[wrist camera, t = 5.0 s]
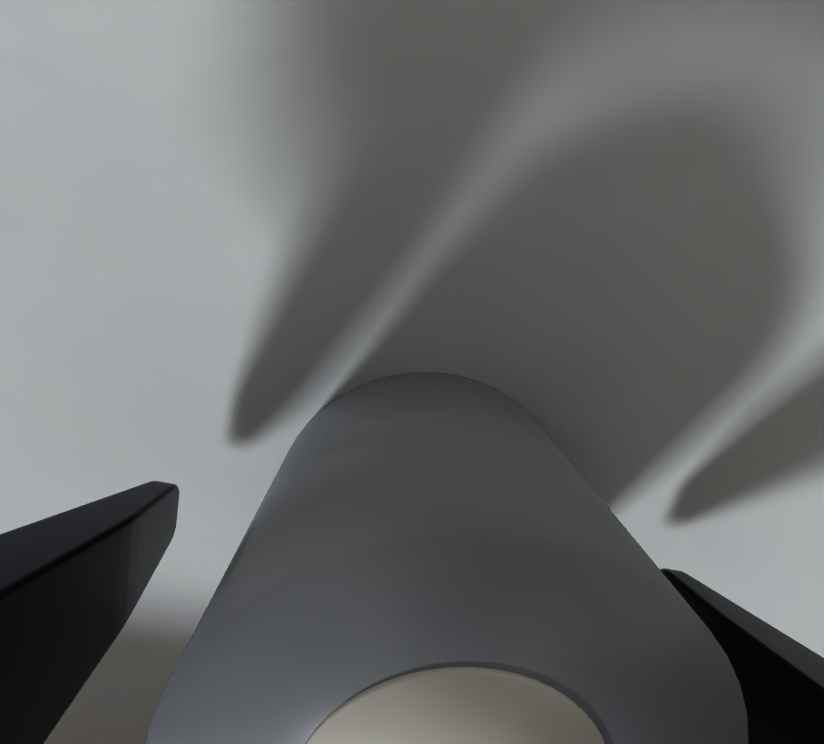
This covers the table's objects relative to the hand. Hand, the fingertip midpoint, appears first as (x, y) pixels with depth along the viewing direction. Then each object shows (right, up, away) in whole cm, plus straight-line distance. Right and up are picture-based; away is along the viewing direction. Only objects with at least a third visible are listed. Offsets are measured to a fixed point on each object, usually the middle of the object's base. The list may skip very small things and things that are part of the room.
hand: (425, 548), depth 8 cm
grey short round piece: (0, 0, +1) cm, 1 cm away
